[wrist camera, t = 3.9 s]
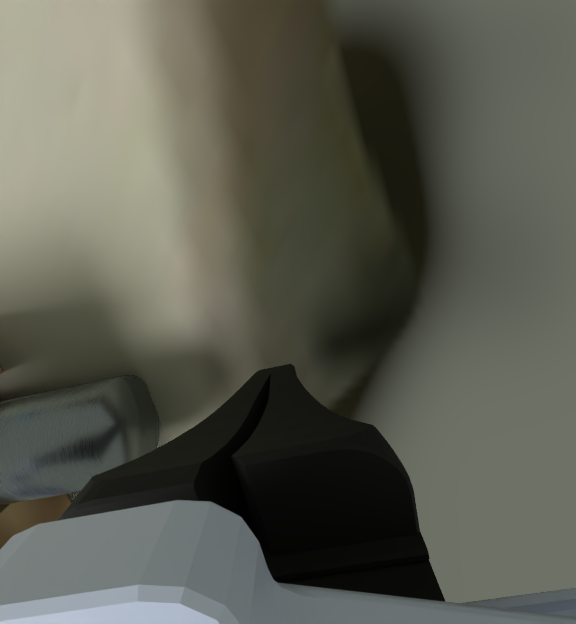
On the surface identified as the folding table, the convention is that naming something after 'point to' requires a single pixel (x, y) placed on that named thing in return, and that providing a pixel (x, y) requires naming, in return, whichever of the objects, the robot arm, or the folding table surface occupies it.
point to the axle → (73, 436)
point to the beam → (30, 513)
